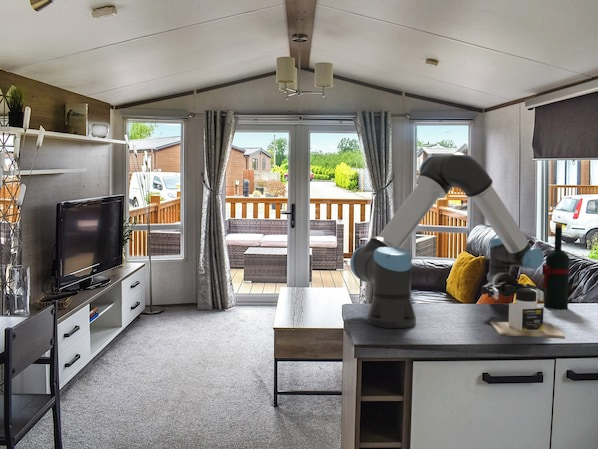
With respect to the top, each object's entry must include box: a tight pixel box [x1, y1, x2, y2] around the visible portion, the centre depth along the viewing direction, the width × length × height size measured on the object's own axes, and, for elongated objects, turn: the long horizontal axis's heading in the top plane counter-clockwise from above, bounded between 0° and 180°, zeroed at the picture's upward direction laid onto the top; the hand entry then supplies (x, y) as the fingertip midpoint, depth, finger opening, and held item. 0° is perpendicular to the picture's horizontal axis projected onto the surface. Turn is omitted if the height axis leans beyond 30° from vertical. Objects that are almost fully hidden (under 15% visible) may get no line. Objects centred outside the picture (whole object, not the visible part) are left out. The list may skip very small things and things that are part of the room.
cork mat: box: [490, 321, 566, 339], centre depth 171 cm, size 18×14×1 cm
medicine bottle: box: [508, 288, 545, 332], centre depth 170 cm, size 7×7×12 cm
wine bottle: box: [541, 223, 570, 311], centre depth 202 cm, size 8×10×30 cm
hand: (519, 295), depth 179 cm, fingers open, 13 cm apart
